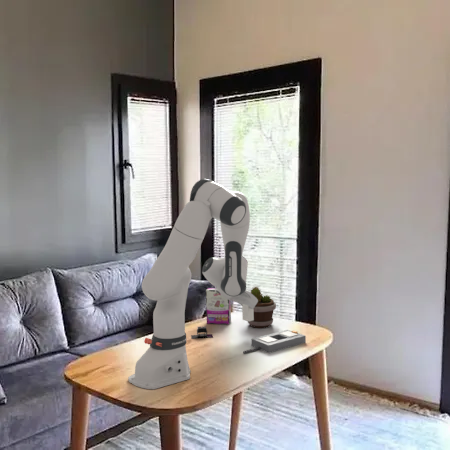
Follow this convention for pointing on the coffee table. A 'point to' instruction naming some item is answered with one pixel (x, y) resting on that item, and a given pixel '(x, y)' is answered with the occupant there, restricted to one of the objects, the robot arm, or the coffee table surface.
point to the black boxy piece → (200, 336)
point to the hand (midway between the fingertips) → (248, 306)
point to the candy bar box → (217, 308)
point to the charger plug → (247, 313)
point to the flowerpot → (262, 310)
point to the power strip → (277, 341)
